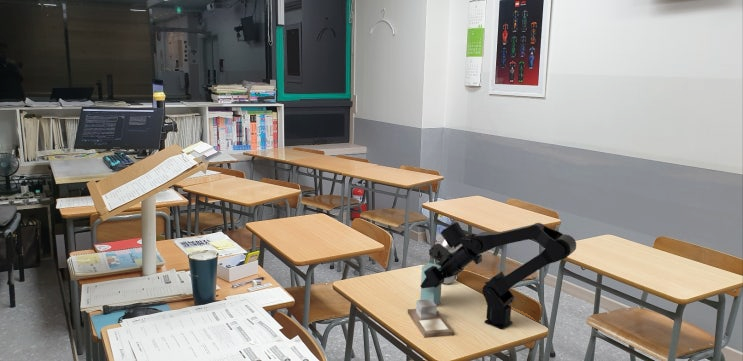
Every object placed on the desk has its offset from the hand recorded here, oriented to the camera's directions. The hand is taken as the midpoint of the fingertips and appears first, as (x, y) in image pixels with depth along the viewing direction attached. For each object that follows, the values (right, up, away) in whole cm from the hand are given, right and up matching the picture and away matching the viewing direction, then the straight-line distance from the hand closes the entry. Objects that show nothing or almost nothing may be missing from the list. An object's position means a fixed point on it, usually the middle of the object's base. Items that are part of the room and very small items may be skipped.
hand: (428, 283), depth 179 cm
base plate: (-1, -10, -15) cm, 18 cm away
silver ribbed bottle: (+9, -4, +19) cm, 22 cm away
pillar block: (+1, -7, +1) cm, 7 cm away
